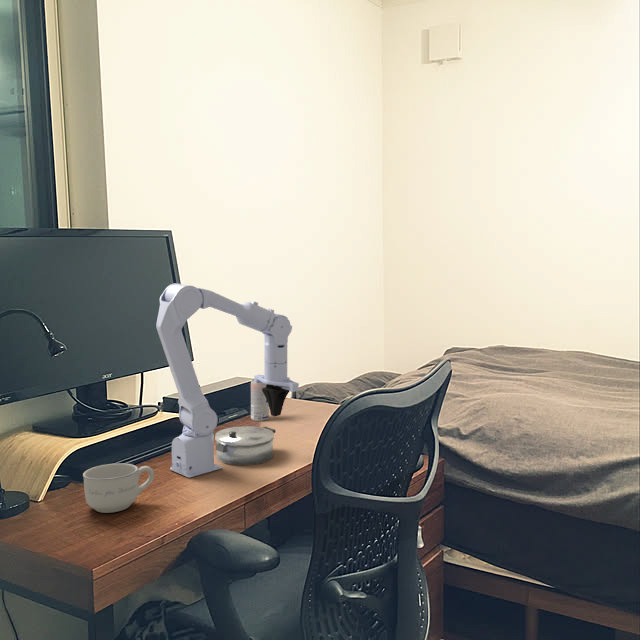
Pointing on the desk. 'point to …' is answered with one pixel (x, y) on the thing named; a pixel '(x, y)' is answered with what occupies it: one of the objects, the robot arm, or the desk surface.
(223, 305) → the robot arm
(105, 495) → the teacup
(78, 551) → the desk surface
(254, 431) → the lid
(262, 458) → the pot
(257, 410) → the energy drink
